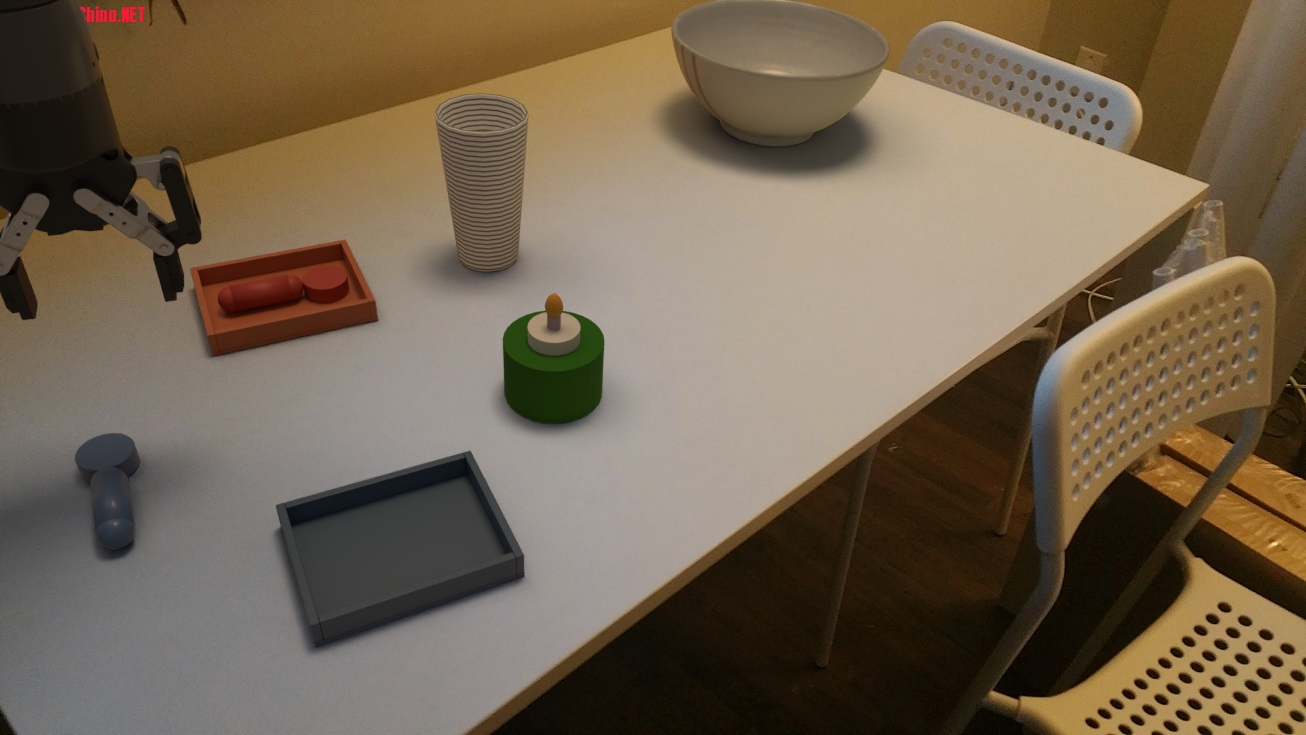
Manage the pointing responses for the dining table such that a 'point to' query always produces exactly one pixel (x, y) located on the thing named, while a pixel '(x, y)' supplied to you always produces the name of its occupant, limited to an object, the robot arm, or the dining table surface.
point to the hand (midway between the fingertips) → (103, 304)
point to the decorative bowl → (776, 65)
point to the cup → (484, 175)
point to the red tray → (288, 316)
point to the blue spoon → (110, 486)
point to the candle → (553, 364)
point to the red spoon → (286, 289)
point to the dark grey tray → (397, 545)
